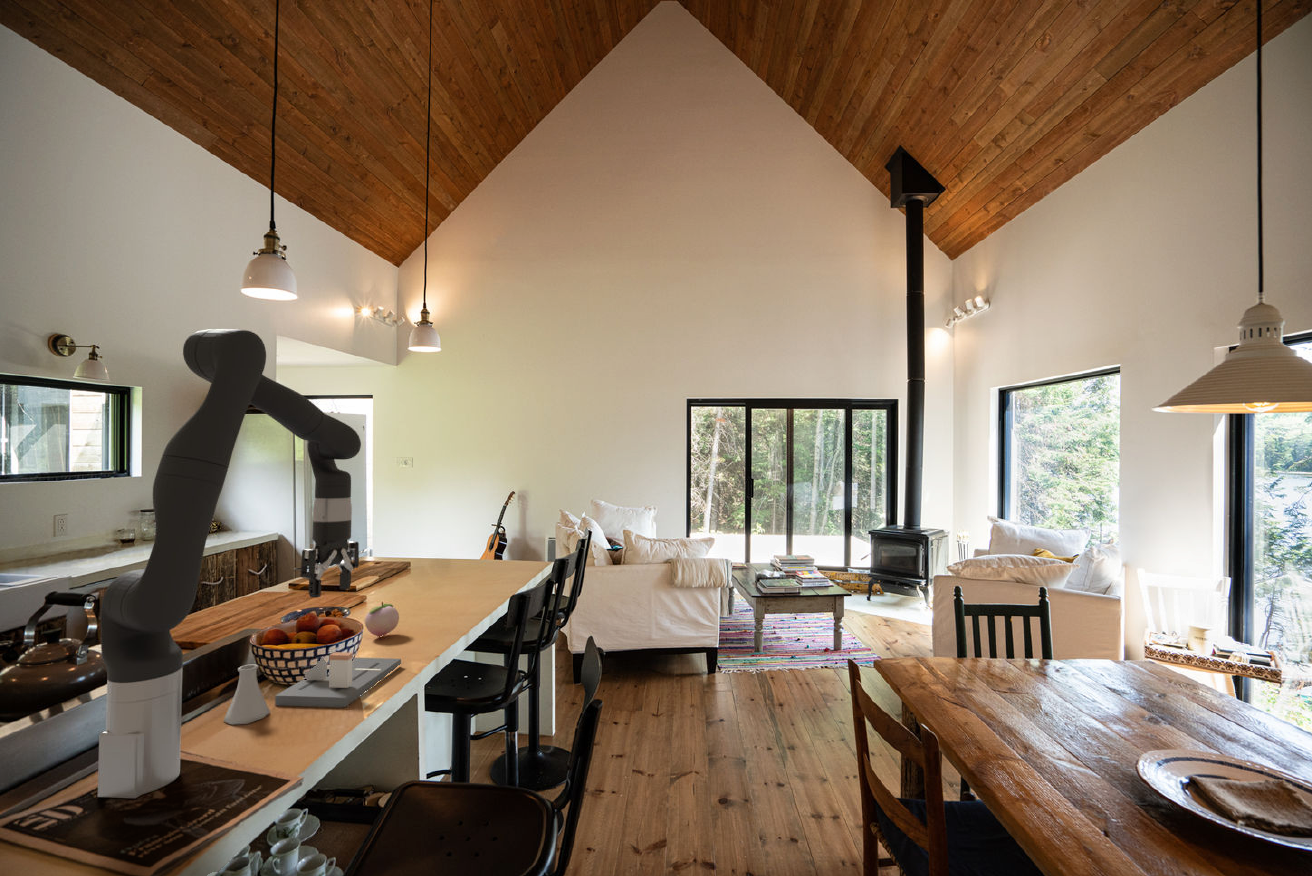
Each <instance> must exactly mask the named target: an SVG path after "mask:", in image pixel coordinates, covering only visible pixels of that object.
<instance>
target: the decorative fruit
mask: <svg viewBox="0 0 1312 876" xmlns="http://www.w3.org/2000/svg"><path fill="white" fill-rule="evenodd" d="M399 622H400V613H399V612H398V610H397V609H396V608H395V607H394V605H393V604H392V603H384V602H383V601H381V605H379V606H374V607H372V608H371V609H370V610H369V612H367V614H366V616H365V618H364V626H365V627H366V629H367V631H368V632H370V634H372V635H374V636H375V637H378V636H382V635H384V636H386V635H388V634H389V633H391V632H392V631H394V630H395V629H396V627H397V626H398V623H399ZM387 633H388V634H387Z"/></svg>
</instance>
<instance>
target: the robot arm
mask: <svg viewBox="0 0 1312 876" xmlns="http://www.w3.org/2000/svg"><path fill="white" fill-rule="evenodd" d="M182 347H183V348H182V356H183V359H184V362H185V364H186V365H187V367H188V368H189V370H190V371H191V372H192V373H193V374H195V375H196V376H198V377H199V378H201V379H202V380H204V381H207V382H209V383H210V386H209V389H208V391H207V394H206V396H205V398H204V400H203V402H202V403H201V405H200V406H199V408H198V409H196V411H195V412H194V413H193V414H192V416H190V417H189V419H188V420H186V422H185V423H184V424H182V426H181V427H180V428H179V429H178V430H177V431H176V432H175V434H173V436H172V437H171V438H170V439H169V441H168V442H167V444H166V445H165V448H164V451H163V452H162V455H161V459H160V462H159V464H158V467H157V470H156V473H155V476H154V480H153V485H152V505H153V514H154V520H155V521H154V522H155V525H154V526H155V535H154V541H153V546H152V550H151V552H150V556H149V558H148V561H147V563H146V566H145V568H144V569H132V570H130V571H127V572H124V573H122V574H121V575H119V576H117V577H116V578H115V579H114V580H112V581H111V583H110V584H109V585H108V587H107V588H106V590H105V591H104V594H103V597H102V598H101V599H102V600H101V605H100V650H101V658H102V661H103V663H104V665H105V667H106V673H107V675H106V678H107V679H106V681H107V682H106V706H105V707H106V708H105V711H106V712H105V731H102V732H101V733H99V736H98V739H99V740H98V765H97V766H98V767H97V768H98V769H97V770H98V772H97V775H98V776H97V798H115V799H116V798H117V799H137V798H138V797H140V796H142V795H144V794H148V793H150V792H154V791H157V790H159V789H161V788H163V787H165V786H168V785H170V783H171V784H172V782H174V781H175V780H176V779H177V778H178V777H179V776H180V773H181V748H182V747H181V745H182V744H181V742H182V740H181V739H182V737H181V736H182V735H181V734H182V733H181V732H182V700H183V699H182V695H183V694H182V693H183V661H184V660H183V659H184V653H183V650H182V649H181V647H180V646H179V645H178V644H177V643H176V641H175V640H174V638H173V636H172V635H171V630H173V629H174V628H176V627H177V626H179V625H180V624H181V623H183V621H184V620H185V619H186V618H187V616H188V615H189V613H190V612H191V610H192V608H193V606H194V602H195V601H196V600H195V599H196V596H197V592H198V586H199V579H200V574H201V569H202V568H201V567H202V562H203V557H204V551H205V548H206V543H207V540H208V536H209V532H210V530H211V527H212V526H211V525H212V523H213V519H214V516H215V512H216V508H217V505H218V502H219V498H220V496H221V493H222V490H223V486H224V483H225V481H226V477H227V475H228V474H227V473H228V471H229V468H230V463H231V459H232V456H233V455H232V454H233V451H234V448H235V445H236V443H237V440H238V437H239V433H240V431H241V427H242V424H243V422H244V419H245V417H246V414H247V411H248V408H249V406H250V405H252V406H253V407H255V408H256V409H258V410H260V411H261V412H262V413H264V414H266V415H267V416H269V417H270V418H272V419H273V420H274V421H276V422H277V423H279V424H280V425H281V426H283V428H285V429H287V430H288V431H289V432H290V433H292V434H294V435H295V436H296V437H297V438H299V439H301V440H304V441H307V445H306V446H307V454H308V457H309V461H310V465H311V468H312V472H313V473H312V474H313V475H314V478H315V479H314V481H315V482H314V503H313V509H312V534H311V535H312V541H313V542H314V543H315V546H314V548H303V549H302V550H301V563H300V574H299V575H300V578H302V579H303V578H304V579H307V580H308V595H309V597H310V598H320V597H322V596H321V595H322V579H321V578H322V576H323V574H324V573H325V571H327V570H328V569H329V567H332V566H334V565H336V566H337V567H338V568H339V570H340V572H339V589H340V590H349V589H351V585H352V572H353V571H354V569H358V568H359V566H360V551H359V549H360V547H359V545H360V544H359V542H358V541H348V540H350V539H351V538H352V515H353V514H352V513H353V512H352V511H353V508H352V507H353V506H352V505H353V504H352V499H351V497H352V475H351V474H350V473H349V472H348V471H345V470H342V469H339V468H338V467H337V463H336V460H344V461H345V460H350V459H352V458H353V459H354V458H355V457H356V456H357V455H358V454H359V452H360V451H361V448H362V441H361V438H360V435H359V434H358V432H357V431H356V430H355V429H354V428H353V427H352V426H350V425H348V424H347V423H345V422H343V421H341V420H339V419H337V418H336V417H333V416H331V415H329V414H326V413H325V412H323V410H321V409H320V408H319V407H318V406H316V405H315V404H314V403H313V402H312V401H310V400H309V399H308V398H307V397H306V396H304V395H302V394H301V393H299V392H297V391H296V390H294V389H291V388H290V387H287V386H285V385H284V384H281V383H279V382H277V381H275V380H273V379H272V378H269V377H267V376H266V375H264V371H265V367H266V363H267V351H266V346H265V344H264V341H263V339H262V338H261V337H260V336H259V335H258V334H256V333H255V332H253V331H252V330H248V329H247V330H246V329H240V328H239V329H236V328H232V329H231V328H230V329H229V328H210V329H203V330H202V329H201V330H198V331H196V332H193V333H192V334H191V335H189V336H188V337H187V339H185V342H184V343H183V346H182Z"/></svg>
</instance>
